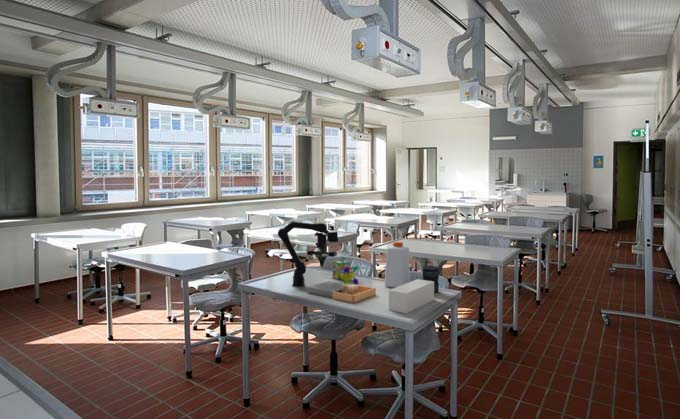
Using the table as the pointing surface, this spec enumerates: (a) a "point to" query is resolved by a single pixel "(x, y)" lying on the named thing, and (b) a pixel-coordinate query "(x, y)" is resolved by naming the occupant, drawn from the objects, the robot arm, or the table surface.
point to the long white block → (411, 295)
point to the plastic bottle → (397, 265)
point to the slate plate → (325, 288)
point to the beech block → (349, 289)
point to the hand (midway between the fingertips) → (321, 266)
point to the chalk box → (340, 268)
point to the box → (362, 294)
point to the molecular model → (351, 275)
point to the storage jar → (431, 276)
